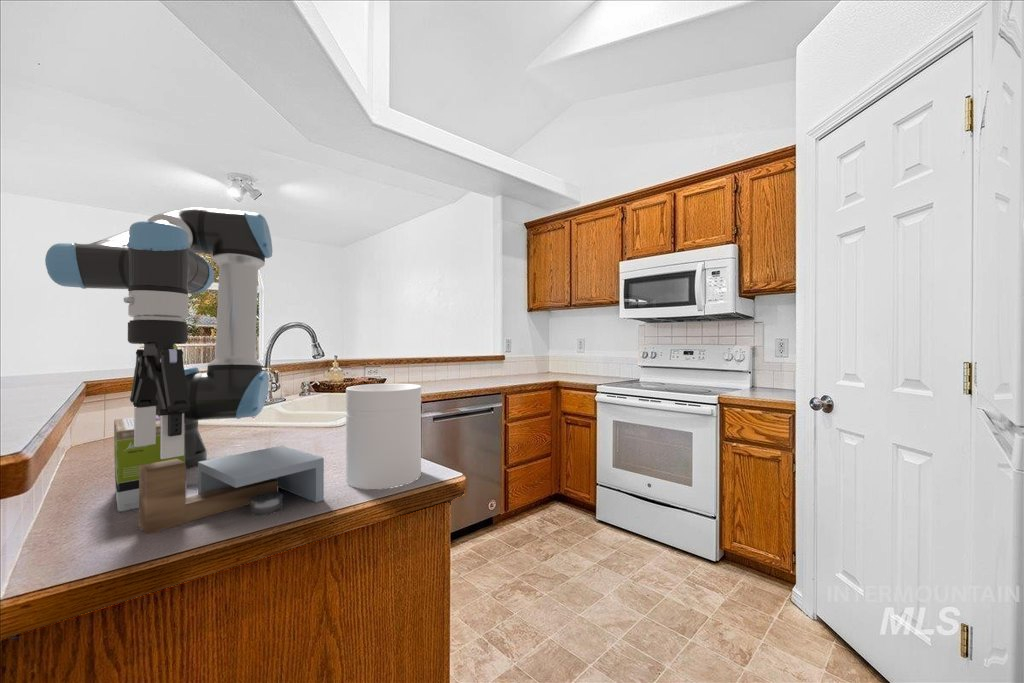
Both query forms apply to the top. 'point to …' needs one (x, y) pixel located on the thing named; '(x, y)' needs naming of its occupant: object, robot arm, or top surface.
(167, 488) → the wooden l-shaped block
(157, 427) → the tea box
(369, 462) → the canister
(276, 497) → the steel puck
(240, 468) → the low shelf
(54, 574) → the top surface
